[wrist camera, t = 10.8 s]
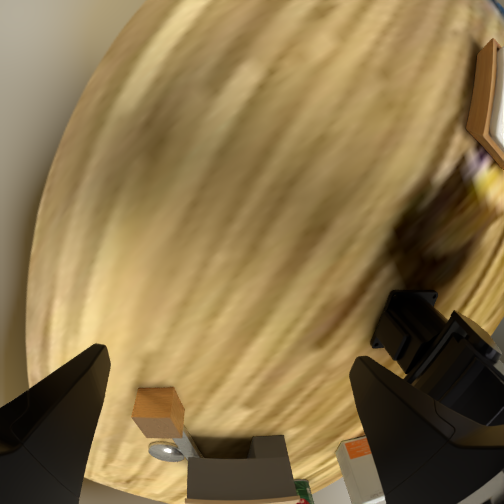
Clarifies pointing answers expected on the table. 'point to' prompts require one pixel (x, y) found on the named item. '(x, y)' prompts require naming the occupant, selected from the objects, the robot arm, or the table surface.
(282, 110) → the table surface
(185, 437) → the brown block with rod
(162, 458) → the token
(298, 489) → the canned tomato
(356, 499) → the skincare box
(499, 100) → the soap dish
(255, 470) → the cabinet
